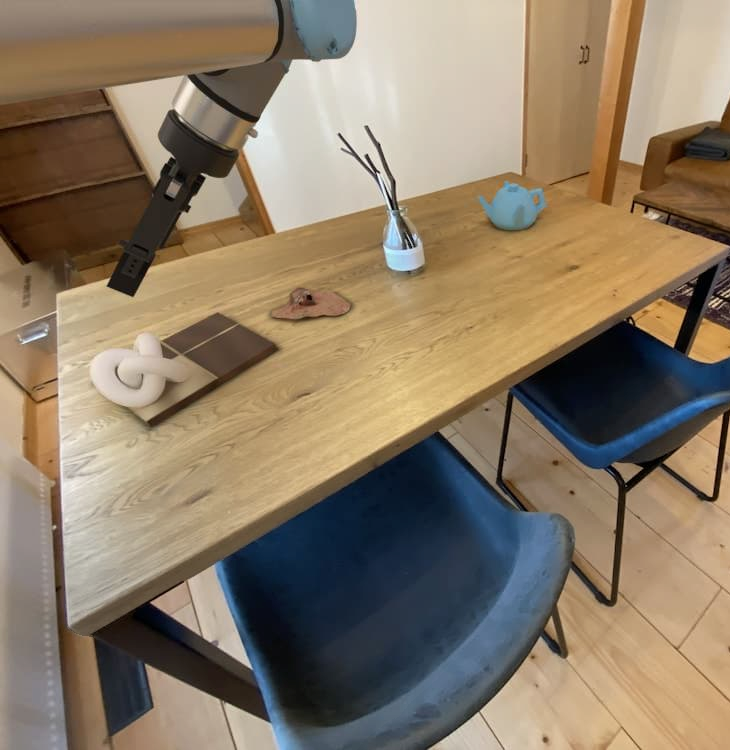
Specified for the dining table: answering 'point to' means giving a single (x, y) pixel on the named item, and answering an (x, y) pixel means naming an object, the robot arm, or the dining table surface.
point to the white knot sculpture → (135, 372)
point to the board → (204, 362)
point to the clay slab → (312, 304)
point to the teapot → (514, 207)
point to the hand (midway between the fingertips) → (137, 265)
